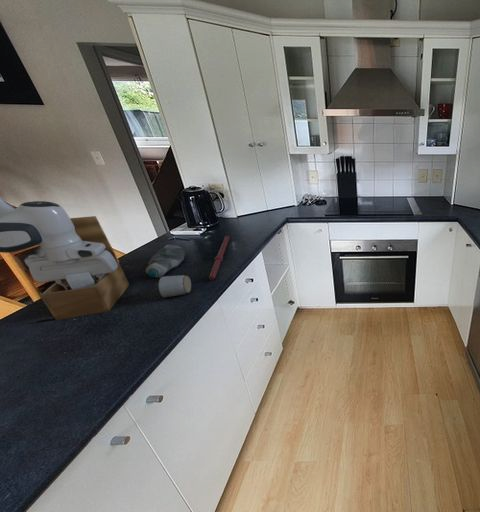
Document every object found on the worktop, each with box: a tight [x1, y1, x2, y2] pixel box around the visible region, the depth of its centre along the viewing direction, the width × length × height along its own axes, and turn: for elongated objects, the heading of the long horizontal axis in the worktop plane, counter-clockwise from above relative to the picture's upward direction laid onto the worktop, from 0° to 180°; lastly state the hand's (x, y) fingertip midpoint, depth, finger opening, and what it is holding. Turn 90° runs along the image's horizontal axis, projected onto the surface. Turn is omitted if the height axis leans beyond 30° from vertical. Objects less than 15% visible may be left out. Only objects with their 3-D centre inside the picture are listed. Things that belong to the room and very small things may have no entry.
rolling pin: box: [208, 235, 231, 281], centre depth 129 cm, size 45×3×3 cm, turn 20°
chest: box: [39, 262, 130, 321], centre depth 96 cm, size 18×14×10 cm
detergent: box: [144, 243, 187, 279], centre depth 118 cm, size 13×7×25 cm
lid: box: [70, 215, 120, 263], centre depth 98 cm, size 18×14×5 cm
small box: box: [66, 272, 97, 289], centre depth 93 cm, size 8×6×10 cm
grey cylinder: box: [158, 274, 192, 298], centre depth 102 cm, size 11×8×8 cm
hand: (86, 287), depth 94 cm, fingers closed on small box, 7 cm apart
